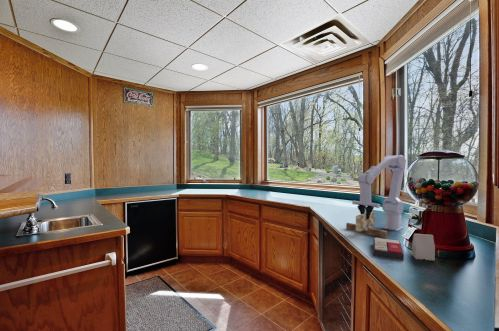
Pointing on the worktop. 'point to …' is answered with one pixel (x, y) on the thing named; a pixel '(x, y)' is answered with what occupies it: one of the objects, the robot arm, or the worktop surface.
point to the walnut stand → (368, 230)
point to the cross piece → (365, 221)
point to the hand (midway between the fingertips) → (365, 218)
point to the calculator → (388, 248)
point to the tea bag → (423, 247)
